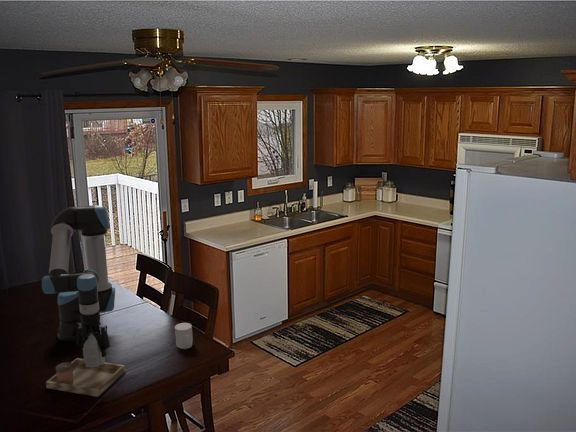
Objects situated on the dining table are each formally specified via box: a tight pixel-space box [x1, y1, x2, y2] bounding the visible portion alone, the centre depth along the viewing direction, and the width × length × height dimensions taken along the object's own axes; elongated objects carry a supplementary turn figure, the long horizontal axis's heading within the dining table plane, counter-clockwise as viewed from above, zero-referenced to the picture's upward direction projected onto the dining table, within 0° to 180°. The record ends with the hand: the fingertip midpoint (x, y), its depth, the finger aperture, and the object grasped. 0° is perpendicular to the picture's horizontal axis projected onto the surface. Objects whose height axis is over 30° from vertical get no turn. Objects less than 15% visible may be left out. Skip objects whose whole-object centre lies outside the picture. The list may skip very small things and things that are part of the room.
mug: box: [174, 322, 194, 350], centre depth 252 cm, size 12×9×8 cm
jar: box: [55, 361, 74, 385], centre depth 219 cm, size 6×6×8 cm
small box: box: [83, 335, 100, 367], centre depth 223 cm, size 8×6×10 cm
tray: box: [45, 357, 126, 398], centre depth 223 cm, size 24×20×4 cm
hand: (94, 362), depth 224 cm, fingers closed on small box, 7 cm apart
